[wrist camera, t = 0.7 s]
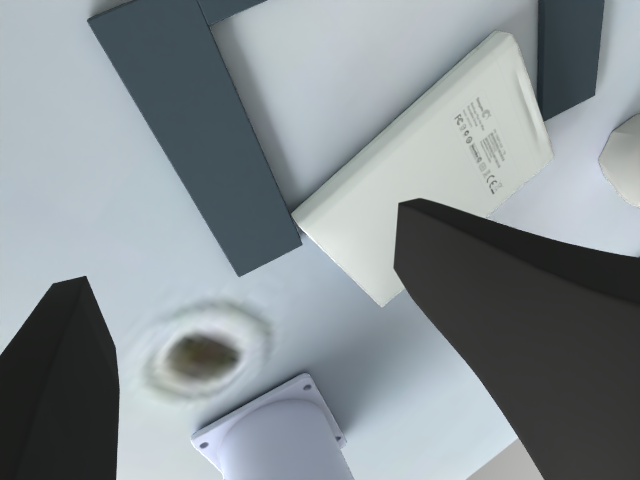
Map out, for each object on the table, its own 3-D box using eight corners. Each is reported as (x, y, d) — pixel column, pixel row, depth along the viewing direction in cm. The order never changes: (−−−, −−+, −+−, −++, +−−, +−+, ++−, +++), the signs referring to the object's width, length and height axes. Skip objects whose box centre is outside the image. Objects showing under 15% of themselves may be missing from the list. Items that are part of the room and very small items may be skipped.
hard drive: (287, 210, 21) (491, 27, 20) (370, 293, 26) (536, 151, 25) (298, 227, 20) (517, 33, 19) (383, 310, 25) (559, 161, 24)
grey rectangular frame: (589, 93, 24) (595, 95, 24) (236, 273, 22) (238, 278, 21) (615, -200, 17) (625, -203, 17) (87, 19, 14) (86, 20, 14)
